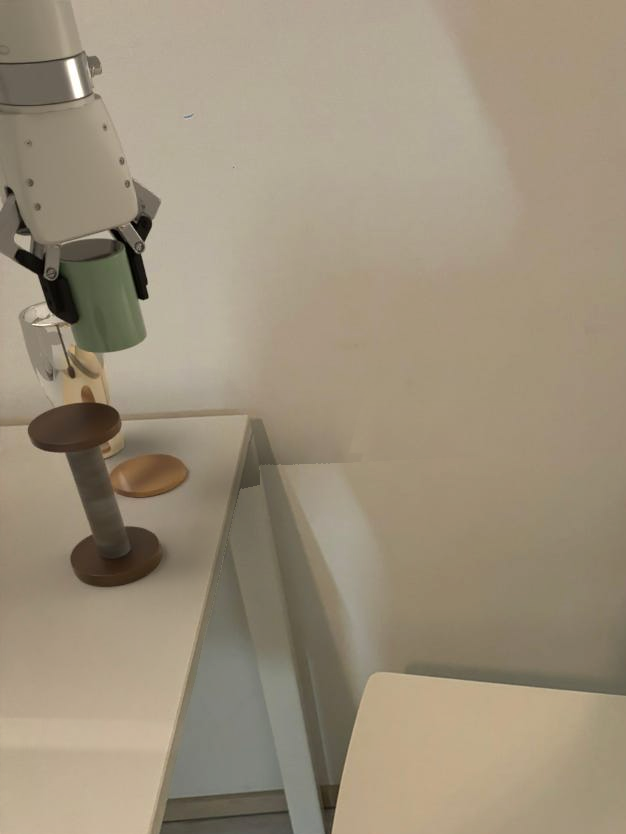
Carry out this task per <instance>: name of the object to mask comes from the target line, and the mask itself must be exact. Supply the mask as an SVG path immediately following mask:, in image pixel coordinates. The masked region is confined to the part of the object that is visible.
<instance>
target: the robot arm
mask: <svg viewBox="0 0 626 834" xmlns="http://www.w3.org/2000/svg"><path fill="white" fill-rule="evenodd" d="M102 72H103V66H102V63H101V61H100V59H99V58H98V56H96V55H90V56H89V55H87V53H86V51H85V50H83V46H82V41H81V37H80V33H79V29H78V25H77V21H76V17H75V13H74V9H73V5H72V1H71V0H0V200H1V204H2V207H1V209H0V254H2V255H4V256H5V257H7V258H9V259H10V260H12V261H13V262H14V263H16V264H18V265H20V266H22V267H23V268H25V269H27V270H29V271H30V272H31V273H33V274H34V275H37V278H38V282H39V284H40V287H41V290H42V293H43V297H44V300H45V301H46V303H47V306H48V308H49V310H50V312H51V313H52V314H54V315H55V316H56V317H57V318H59V319H61V320H63V321H65V322H67V323H69V324H71V325H72V324H75V323H77V322H78V320H79V318H78V315H77V311H76V308H75V305H74V301H73V298H72V295H71V291H70V288H69V285H68V281H67V279H66V278H64V277H62V276H60V274H59V263H60V252H61V245H62V244H65V243H68V242H72V241H76V240H80V239H82V238H85V237H90V236H92V235H96V234H100V233H103V232H106V231H108V233H109V234H110V235H111V237H112V239H113V240H117V241H120V242H122V243H123V244H124V245H125V248H126V252H127V256H128V260H129V264H130V268H131V272H132V276H133V280H134V284H135V288H136V292H137V296H138V300H141V301H146V300H148V299H149V298H150V295H149V291H148V287H147V286H148V284H149V280H148V275H147V272H146V268H145V263H144V259H143V255H142V254H143V253H144V252H145V250H146V244H145V243H146V241H147V238H148V237H149V234H150V232H151V230H152V227H153V220H155V217H156V216H157V213H158V210H159V208H160V206H161V204H162V199H161V197H160V196H159V195H158V194H157V193H155V192H154V191H152V190H151V189H149V188H148V187H146V186H145V185H144V184H143V183H141V182H139V180H137V179H135V178H134V177H133V176H132V175H131V170H130V167H129V164H128V161H127V158H126V154H125V152H124V148H123V145H122V143H121V139H120V137H119V135H118V132H117V129H116V127H115V125H114V122H113V120H112V118H111V117H112V116H111V115H110V113H109V110H108V109H107V106H106V104H105V102H104V100H103V98H102V95H100V94H98V93H95V92H94V88H95V84H94V82H93V78H94V77H95V76H98V75H102ZM15 235H18V236H23V237H29V236H30V243H29V250H26V249H25V248H23V247H21V246H20V245H19V244H17V243H16V241H15Z"/></svg>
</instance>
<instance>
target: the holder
mask: <svg viewBox="0 0 626 834" xmlns="http://www.w3.org/2000/svg"><path fill="white" fill-rule="evenodd" d="M122 427H123V422H122V419H121V415H120V413H119V411H118V410H117V409H116V408H115V407H114V406H109V405H106V404H102V403H94V402H82V403H73V404H68V405H63V406H59V407H56V408H53V407H52V408H51V409H48V410H46V411H44V412H42V413H40V414H39V415H37V416H36V417H35V418H33V419H32V420H31V422H30V423H29V424H28V427H27V435H28V437H29V440H30V442H31V444H32V445H33V446H34V447H35V448H37V449H39V450H41V451H44V452H48V453H58V454H59V453H60V454H63V453H64V454H65V457H66V460H67V463H68V466H69V468H70V471H71V475H72V476H73V481H74V484H75V487H76V490H77V493H78V495H79V498H80V501H81V504H82V505H81V506H82V507H83V510H84V511H83V512H84V513H85V516H86V520H87V523H88V525H89V529H90V531H91V534H90V535H89V536H86V537H84V538H83V539H82V540H80V541H79V542H78V543H77V544H76V545H75V546H74V547H73V549H72V551H71V553H70V557H69V561H70V565H71V567H72V570H73V573H74V575H75V576H76V578H77V579H78V580H79V581H80V582H81V581H82V582H83V583H85V584H88V585H90V586H96V587H116V586H123V585H126V584H130V583H132V582H135V581H137V580H140V579H142V578H145V577H146V576H147V575H148V574H150V573H151V572H153V571H154V570H155V569H156V568H157V566H158V565H159V564H160V563H161V560H162V557H163V550H162V547H161V543H160V540H159V538H158V536H157V535H156V534H155V533H154V532H153V531H151V530H149V529H147V528H144V527H140V526H134V525H133V526H131V525H125V523H124V519H123V516H122V513H121V509H120V508H119V503H118V499H117V496H116V494H115V493H116V492H115V491H114V490H113V487H112V483H111V480H110V477H109V475H110V473H109V470H108V468H107V464H106V462H105V461H106V460H105V459H104V457H103V454H102V451H101V448H100V445H101V444H104V443H106V442H107V441H109V440H111V439H112V438H114V437H115V436H116V435H117V434H118V433H119V431H120V432H121V430H122Z"/></svg>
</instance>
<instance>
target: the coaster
mask: <svg viewBox="0 0 626 834" xmlns="http://www.w3.org/2000/svg"><path fill="white" fill-rule="evenodd" d="M186 476H187V469H186V465H185V463H184V462H183V460H181V459H180V458H178V457H176V456H173V455H170V454H163V453H151V454H143V455H138V456H135V457H131V458H128V459H127V460H125V461H123V462H121V463H119V464H117V465H116V466H115V467H114V468H113V469H112V470H111V472H110V473H109V477H110V480H111V483H112V487H113V490H114V493H116V494H119V495H121V496H124V497H129V498H130V497H131V498H147V497H148V498H149V497H153V496H158V495H161V494H165V493H166V492H169V491H172V490H173V489H175V488H176V487H178V486H179V485H180V484H181V483H183V481H184V480H185V478H186Z"/></svg>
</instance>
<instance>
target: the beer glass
mask: <svg viewBox="0 0 626 834" xmlns="http://www.w3.org/2000/svg"><path fill="white" fill-rule="evenodd" d="M18 320H19V324H20V327H21V332H22V337H23V340H24V344H25V347H26V351H27V354H28V357H29V360H30V363H31V366H32V369H33V371H34V373H35V375H36V378H37V379H38V381H39V385H40V386H41V388H42V389H43V391H44V393H45V395H46V396H47V398H48V400H49V403H50V404H51V405H52V409H53V408H56V407H59V406H63V405H68V404H73V403H82V402H94V403H102V404H106V405H109V406H111V397H110V388H109V378H108V369H107V368H108V367H107V361H106V357H105V353H93V352H87V351H84V350H81V349H79V348H78V347H77V346H76V344H75V340H74V337H73V334H72V331H71V327H70V324H69V323H67V322H65V321H63V320H61V319H59V318H57V317H56V316H55V315H54V314H52V313H51V312H50V310H49V308H48V306H47V303H46V300H45V301H39V302H37V303H34V304H31V305H29V306H27V307H25V308H24V309H23V310H21V311H20V312H19V314H18ZM111 407H112V406H111ZM124 447H125V439H124V436H123V434H122V432H121V430H120V431H119V433H118V434H117V435H116V436H115V437H114V438H112V439H111V440H109V441H107V442H106V443H104V444H101V445H100V448H101V451H102V454H103V457H104V460H105V459H108V458H110V457H113V456H115V455H116V454H118V453H119V452H121V451H122V450H123V448H124Z"/></svg>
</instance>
